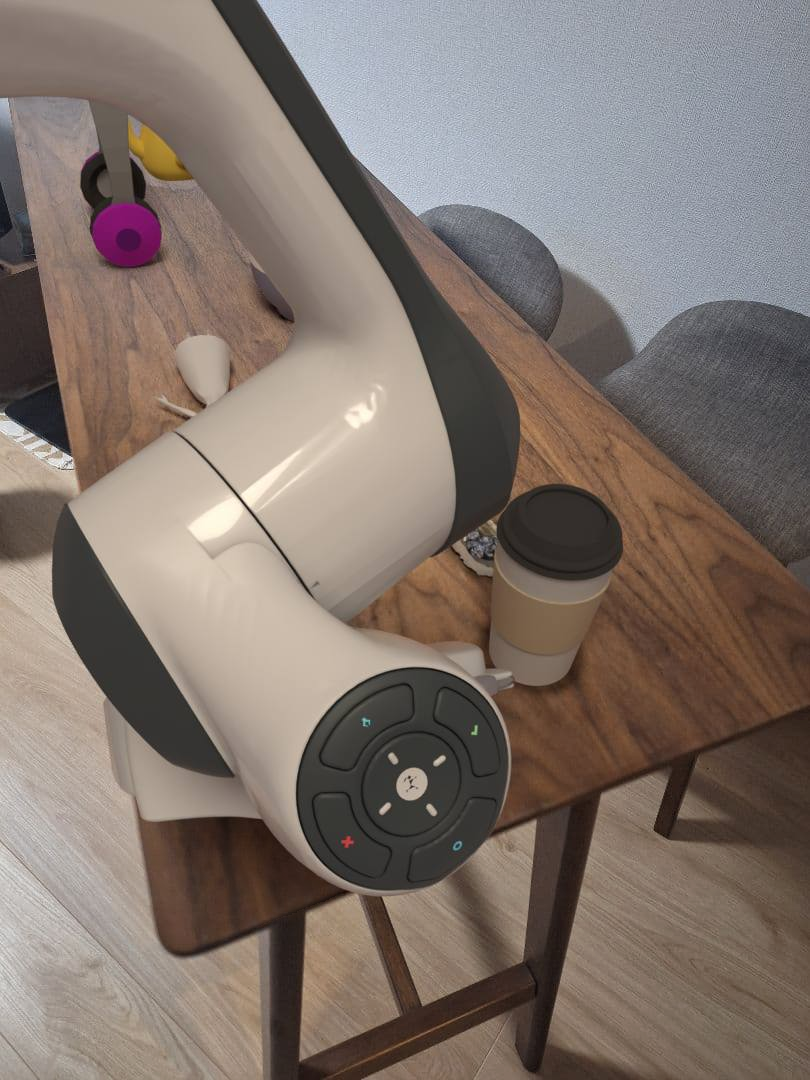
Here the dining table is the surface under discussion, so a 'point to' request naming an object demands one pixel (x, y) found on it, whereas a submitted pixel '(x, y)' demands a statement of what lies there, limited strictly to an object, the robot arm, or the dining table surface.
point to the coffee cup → (549, 579)
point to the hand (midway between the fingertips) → (284, 690)
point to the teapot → (156, 156)
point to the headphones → (118, 194)
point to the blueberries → (479, 548)
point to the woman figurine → (202, 369)
